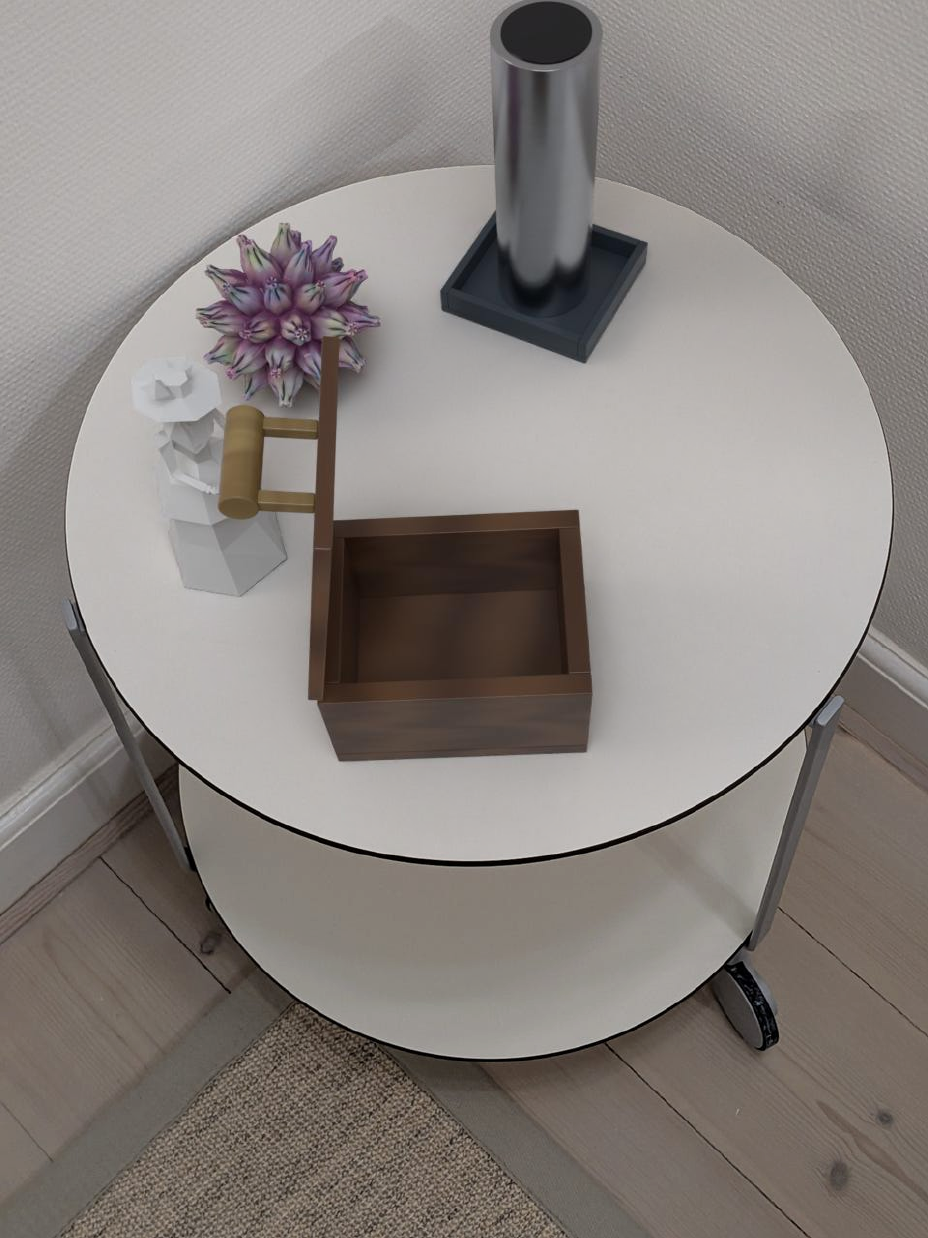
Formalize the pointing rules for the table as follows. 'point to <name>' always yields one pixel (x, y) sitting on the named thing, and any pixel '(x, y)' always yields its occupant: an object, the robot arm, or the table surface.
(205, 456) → the figurine
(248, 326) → the flower
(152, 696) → the table surface
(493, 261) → the tray
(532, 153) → the flask
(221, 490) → the lid
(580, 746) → the chest
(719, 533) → the table surface
